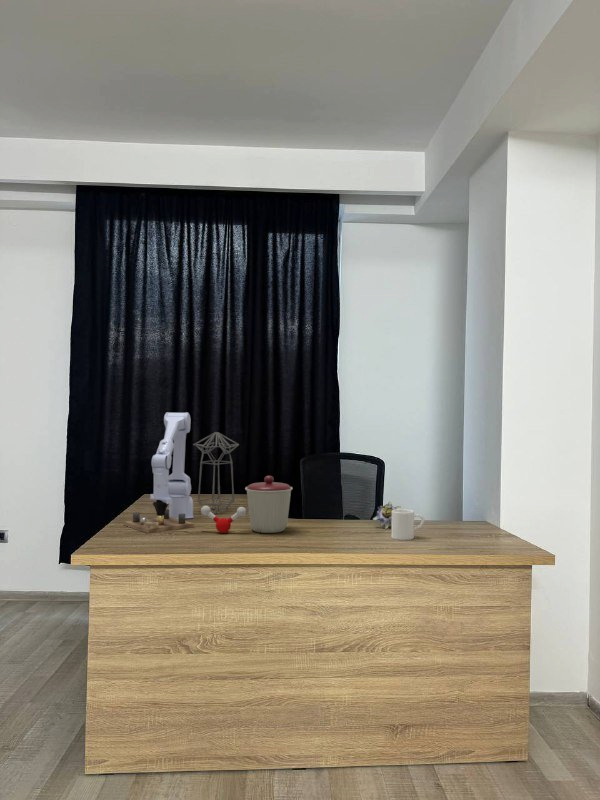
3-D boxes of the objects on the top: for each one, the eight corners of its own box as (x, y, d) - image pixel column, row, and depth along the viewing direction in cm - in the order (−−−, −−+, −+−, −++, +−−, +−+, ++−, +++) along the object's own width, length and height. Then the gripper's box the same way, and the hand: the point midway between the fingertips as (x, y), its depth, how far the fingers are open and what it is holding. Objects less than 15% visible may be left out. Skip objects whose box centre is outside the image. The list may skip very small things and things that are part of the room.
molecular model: (247, 532, 276) (247, 506, 275) (243, 535, 270) (243, 508, 270) (202, 530, 279) (203, 504, 279) (198, 533, 274) (198, 506, 273)
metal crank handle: (140, 524, 282) (140, 515, 282) (141, 523, 284) (141, 514, 284) (162, 525, 281) (162, 516, 281) (164, 523, 284) (164, 515, 284)
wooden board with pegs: (169, 520, 301) (169, 507, 301) (194, 527, 285) (194, 514, 285) (124, 525, 288) (124, 512, 288) (147, 533, 273) (147, 519, 273)
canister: (302, 531, 279) (302, 475, 279) (268, 537, 266) (268, 479, 266) (268, 524, 292) (269, 471, 292) (234, 531, 279) (235, 475, 278)
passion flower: (386, 542, 285) (368, 518, 284) (388, 532, 296) (371, 508, 295) (410, 528, 282) (392, 503, 281) (411, 518, 293) (394, 493, 292)
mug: (425, 540, 263) (425, 513, 262) (391, 539, 264) (391, 512, 264) (424, 536, 271) (424, 509, 270) (391, 535, 272) (391, 508, 272)
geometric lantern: (214, 507, 333) (215, 430, 332) (241, 511, 324) (241, 432, 323) (190, 512, 320) (190, 432, 320) (217, 516, 311) (217, 433, 310)
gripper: (143, 483, 287) (142, 518, 288) (160, 487, 276) (160, 523, 276) (159, 482, 292) (159, 516, 292) (177, 486, 280) (176, 522, 280)
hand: (160, 520), depth 284 cm, fingers closed, pressing on metal crank handle
